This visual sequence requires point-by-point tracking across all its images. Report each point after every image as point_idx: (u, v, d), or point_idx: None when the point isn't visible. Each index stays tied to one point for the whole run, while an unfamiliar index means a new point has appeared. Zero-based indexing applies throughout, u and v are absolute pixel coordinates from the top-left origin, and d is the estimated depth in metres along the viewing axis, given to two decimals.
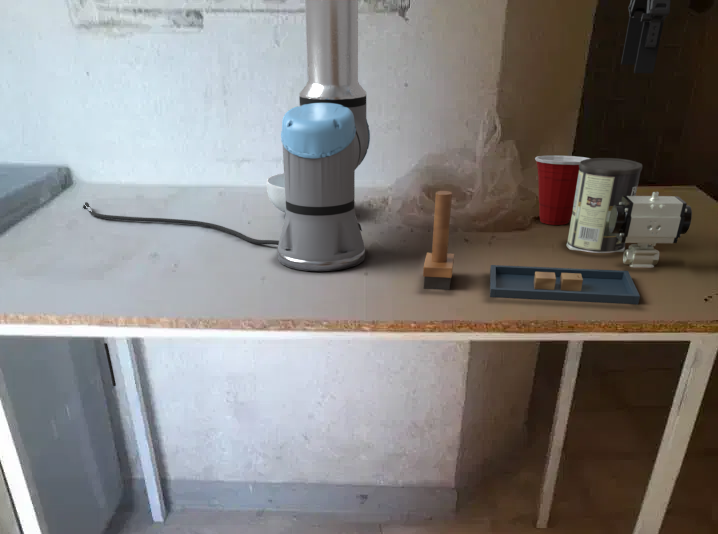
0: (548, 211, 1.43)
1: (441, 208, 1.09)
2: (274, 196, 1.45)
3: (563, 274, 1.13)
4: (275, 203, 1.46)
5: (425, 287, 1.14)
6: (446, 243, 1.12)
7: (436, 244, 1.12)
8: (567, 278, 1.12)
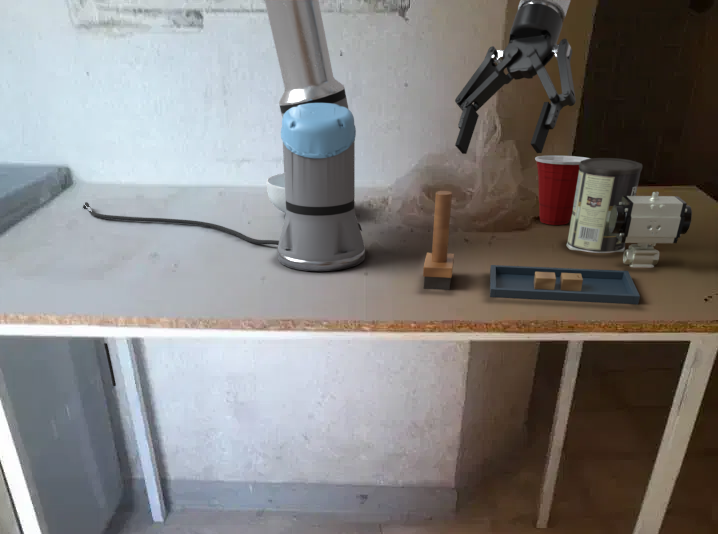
0: (548, 211, 1.43)
1: (441, 208, 1.09)
2: (274, 196, 1.45)
3: (563, 274, 1.13)
4: (275, 203, 1.46)
5: (425, 287, 1.14)
6: (446, 243, 1.12)
7: (436, 244, 1.12)
8: (567, 278, 1.12)
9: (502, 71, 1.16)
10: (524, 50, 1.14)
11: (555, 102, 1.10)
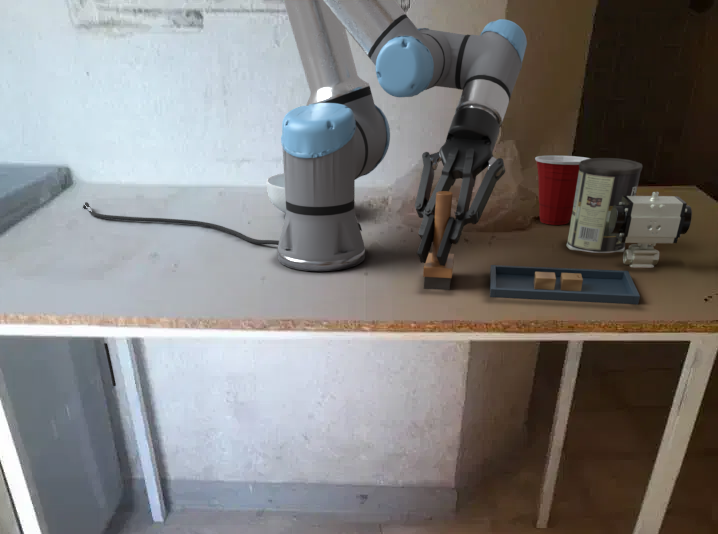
0: (548, 211, 1.43)
1: (442, 208, 1.09)
2: (274, 196, 1.45)
3: (563, 274, 1.13)
4: (275, 203, 1.46)
5: (425, 287, 1.14)
6: None
7: (436, 244, 1.12)
8: (567, 278, 1.12)
9: (450, 172, 1.11)
10: (463, 151, 1.12)
11: (460, 219, 1.10)
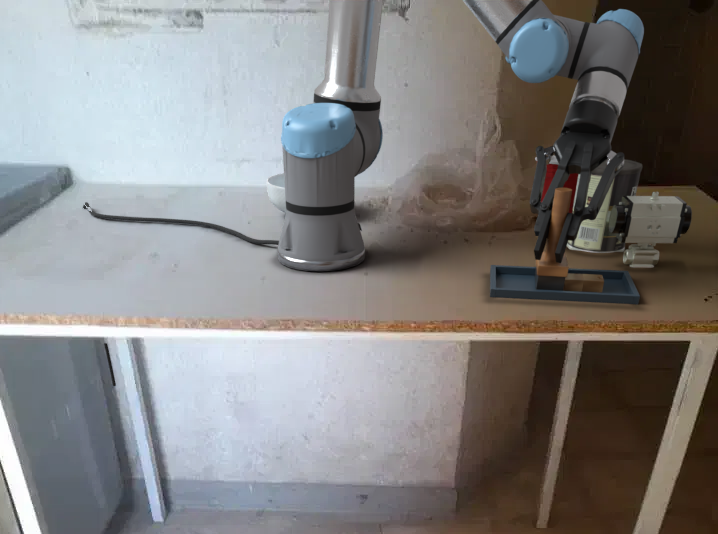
0: None
1: (560, 205, 1.06)
2: (274, 196, 1.45)
3: (584, 275, 1.13)
4: (275, 203, 1.46)
5: (538, 286, 1.11)
6: None
7: (551, 242, 1.09)
8: (588, 279, 1.11)
9: (566, 167, 1.08)
10: (580, 145, 1.08)
11: (579, 214, 1.07)
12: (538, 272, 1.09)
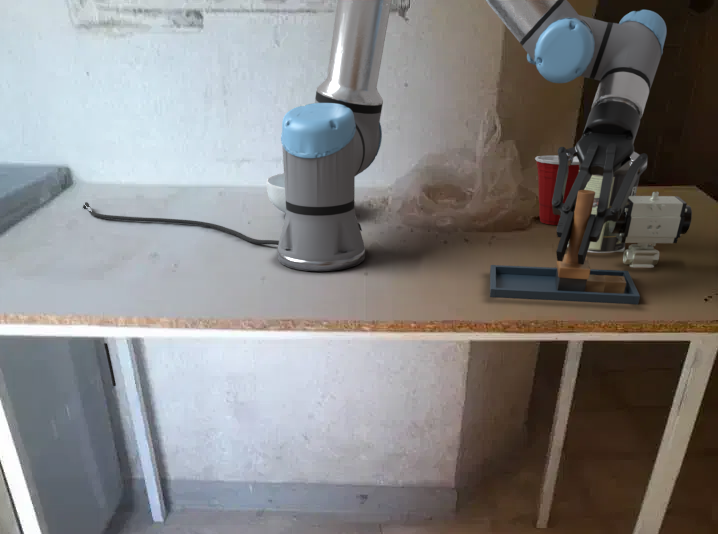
0: (548, 211, 1.43)
1: (583, 207, 1.05)
2: (274, 196, 1.45)
3: (606, 276, 1.12)
4: (275, 203, 1.46)
5: (559, 288, 1.10)
6: None
7: (573, 245, 1.09)
8: (610, 280, 1.11)
9: (589, 168, 1.08)
10: (603, 146, 1.08)
11: (602, 216, 1.06)
12: (559, 274, 1.09)
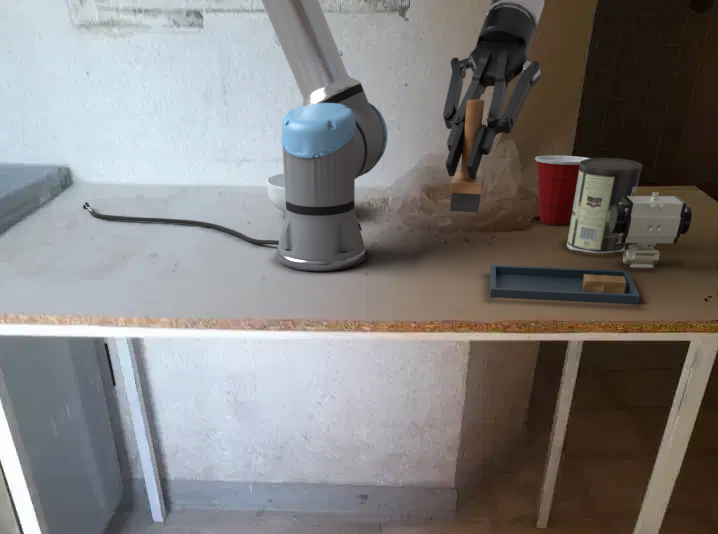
0: (548, 211, 1.43)
1: (472, 116, 1.01)
2: (274, 196, 1.45)
3: (606, 276, 1.12)
4: (275, 203, 1.46)
5: (452, 205, 1.06)
6: None
7: (465, 158, 1.04)
8: (610, 280, 1.11)
9: (481, 78, 1.04)
10: (495, 55, 1.04)
11: (492, 126, 1.02)
12: (451, 189, 1.05)
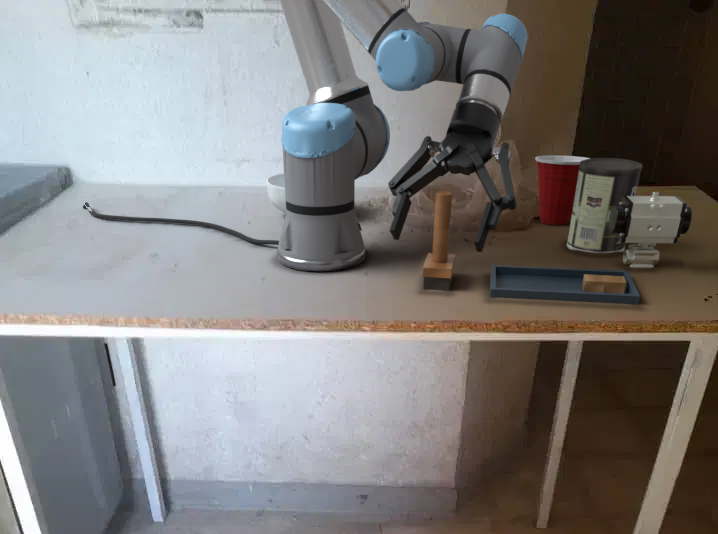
0: (548, 211, 1.43)
1: (441, 208, 1.08)
2: (274, 196, 1.45)
3: (606, 276, 1.12)
4: (275, 203, 1.46)
5: (424, 287, 1.13)
6: (446, 244, 1.12)
7: (436, 244, 1.12)
8: (610, 280, 1.11)
9: (439, 163, 1.12)
10: (463, 146, 1.11)
11: (498, 204, 1.08)
12: (423, 274, 1.12)
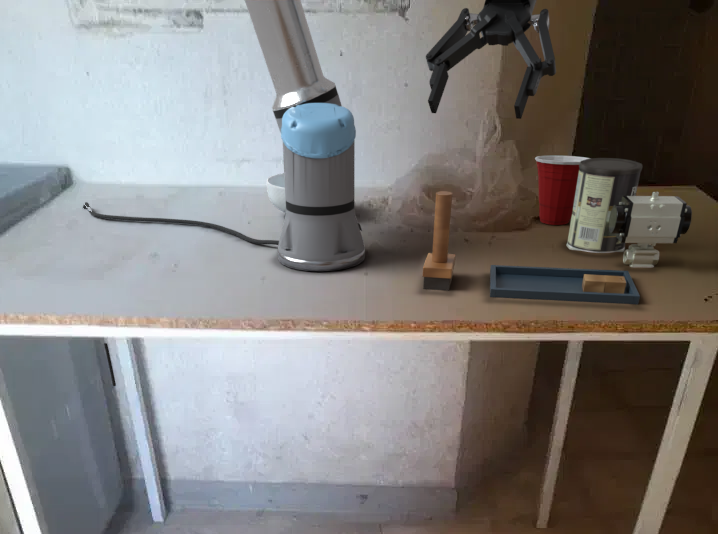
0: (548, 211, 1.43)
1: (441, 208, 1.08)
2: (274, 196, 1.45)
3: (606, 276, 1.12)
4: (275, 203, 1.46)
5: (425, 287, 1.13)
6: (446, 244, 1.12)
7: (436, 244, 1.12)
8: (610, 280, 1.11)
9: (478, 33, 1.12)
10: (502, 15, 1.11)
11: (538, 68, 1.07)
12: (423, 274, 1.12)
